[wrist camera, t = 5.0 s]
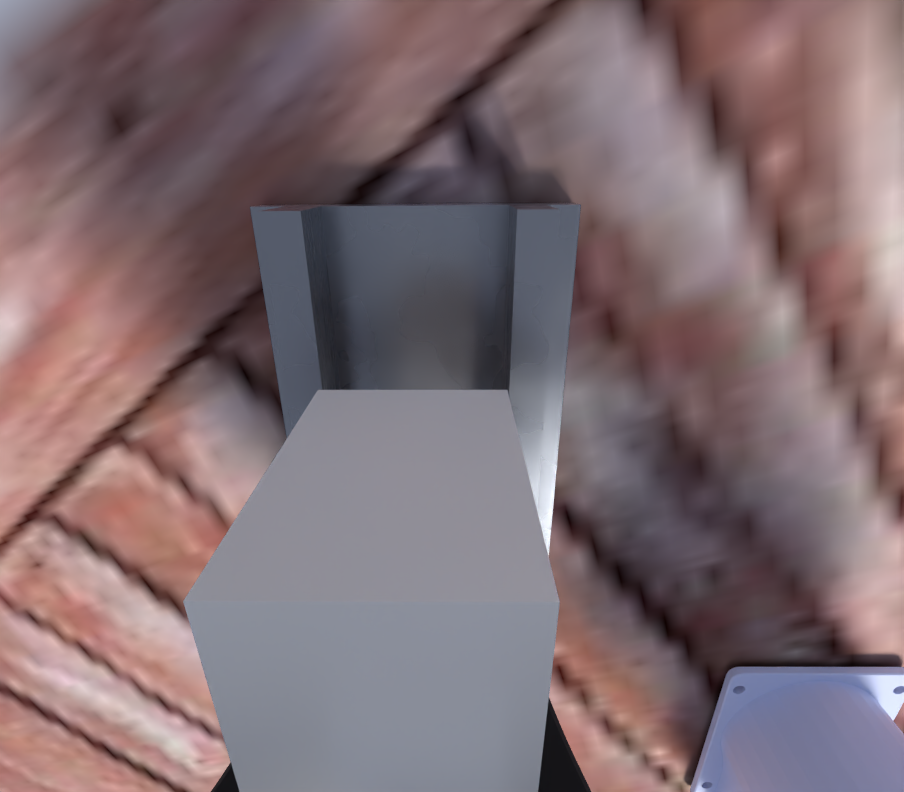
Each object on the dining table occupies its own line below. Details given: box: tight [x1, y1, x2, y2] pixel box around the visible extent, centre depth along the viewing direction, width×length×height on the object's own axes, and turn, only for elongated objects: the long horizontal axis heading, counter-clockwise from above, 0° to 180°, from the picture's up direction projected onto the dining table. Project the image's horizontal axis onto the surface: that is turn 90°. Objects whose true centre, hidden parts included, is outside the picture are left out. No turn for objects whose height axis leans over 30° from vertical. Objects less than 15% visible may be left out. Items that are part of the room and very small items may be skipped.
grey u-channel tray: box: [250, 203, 581, 556], centre depth 17 cm, size 18×9×3 cm, turn 0°
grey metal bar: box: [183, 390, 560, 792], centre depth 9 cm, size 12×4×5 cm, turn 0°
